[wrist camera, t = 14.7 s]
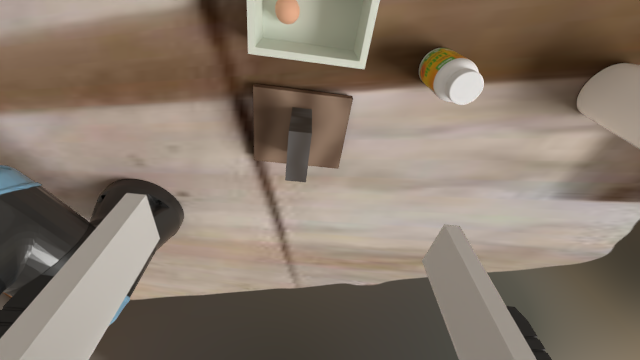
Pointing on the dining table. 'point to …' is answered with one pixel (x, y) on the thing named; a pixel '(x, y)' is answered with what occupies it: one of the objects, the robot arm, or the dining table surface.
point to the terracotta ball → (287, 11)
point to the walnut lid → (299, 128)
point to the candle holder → (614, 101)
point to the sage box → (314, 31)
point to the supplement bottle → (451, 76)
